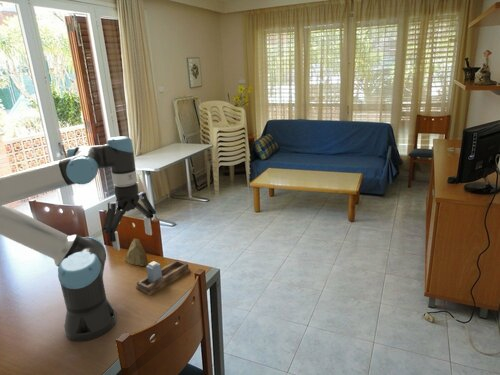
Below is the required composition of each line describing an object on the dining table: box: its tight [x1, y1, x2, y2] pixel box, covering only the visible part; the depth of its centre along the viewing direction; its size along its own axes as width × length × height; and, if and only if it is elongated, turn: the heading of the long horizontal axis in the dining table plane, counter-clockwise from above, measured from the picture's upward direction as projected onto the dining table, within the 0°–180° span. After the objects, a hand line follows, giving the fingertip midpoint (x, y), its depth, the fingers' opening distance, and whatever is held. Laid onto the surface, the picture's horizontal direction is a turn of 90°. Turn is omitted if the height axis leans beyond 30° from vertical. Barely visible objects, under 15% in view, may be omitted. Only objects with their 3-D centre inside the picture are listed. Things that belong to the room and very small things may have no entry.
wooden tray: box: [135, 259, 191, 296], centre depth 141 cm, size 20×8×3 cm, turn 143°
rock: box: [124, 237, 149, 267], centre depth 153 cm, size 11×9×10 cm
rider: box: [145, 260, 162, 284], centre depth 136 cm, size 4×3×8 cm
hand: (133, 241), depth 127 cm, fingers open, 13 cm apart
